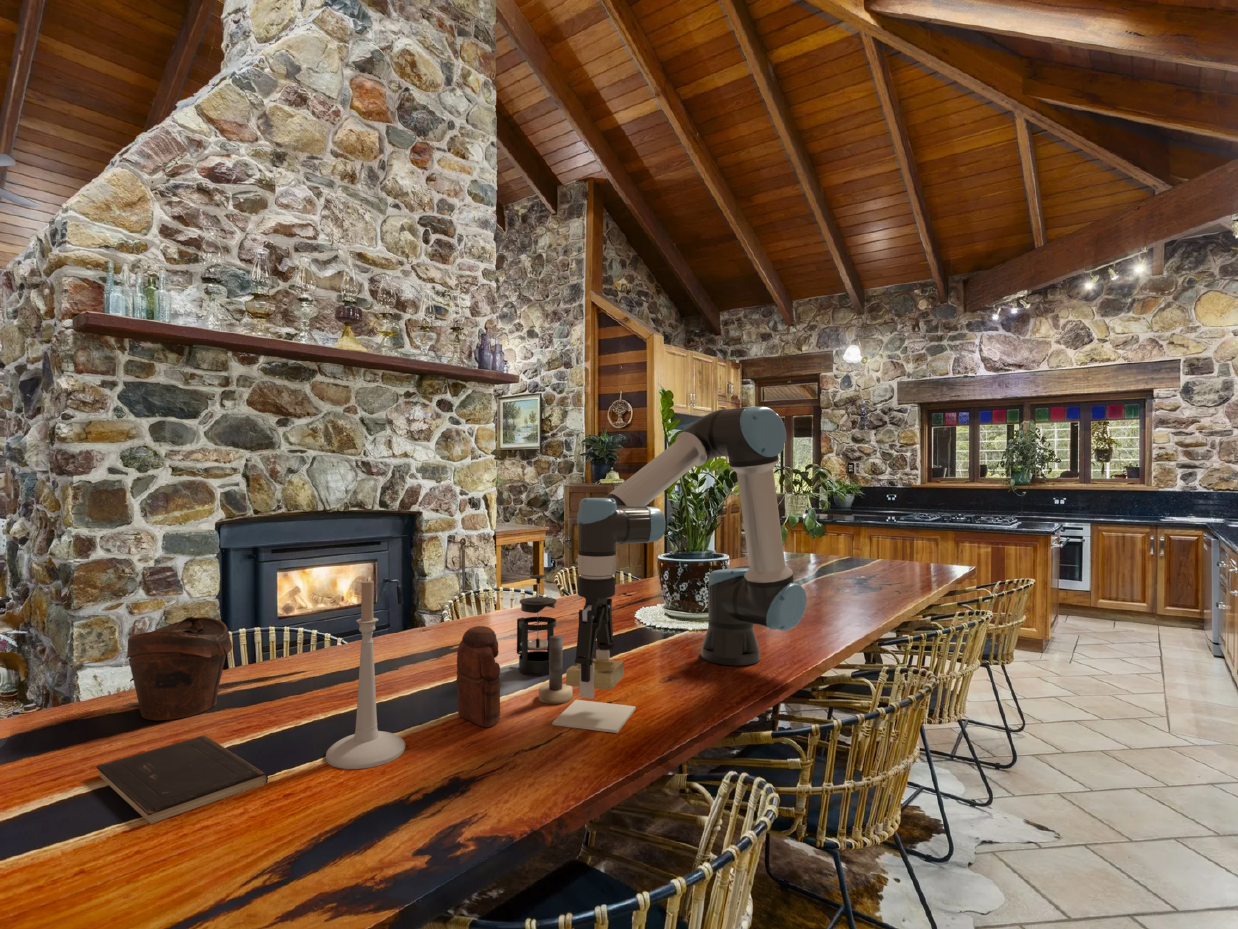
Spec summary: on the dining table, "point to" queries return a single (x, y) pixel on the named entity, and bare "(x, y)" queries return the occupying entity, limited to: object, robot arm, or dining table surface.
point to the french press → (537, 660)
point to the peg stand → (555, 676)
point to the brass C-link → (598, 674)
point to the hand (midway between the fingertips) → (594, 689)
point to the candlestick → (366, 706)
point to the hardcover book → (179, 777)
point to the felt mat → (595, 716)
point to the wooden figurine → (478, 677)
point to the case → (178, 667)
